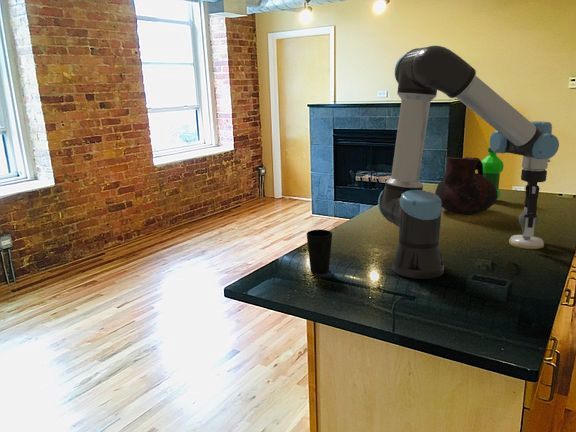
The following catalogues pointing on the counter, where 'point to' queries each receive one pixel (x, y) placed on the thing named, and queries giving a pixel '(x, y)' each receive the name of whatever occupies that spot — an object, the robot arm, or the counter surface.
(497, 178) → the plastic bottle
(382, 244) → the counter surface
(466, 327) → the counter surface
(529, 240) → the white plate
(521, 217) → the light bulb
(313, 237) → the cup
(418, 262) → the robot arm
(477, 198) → the jug
